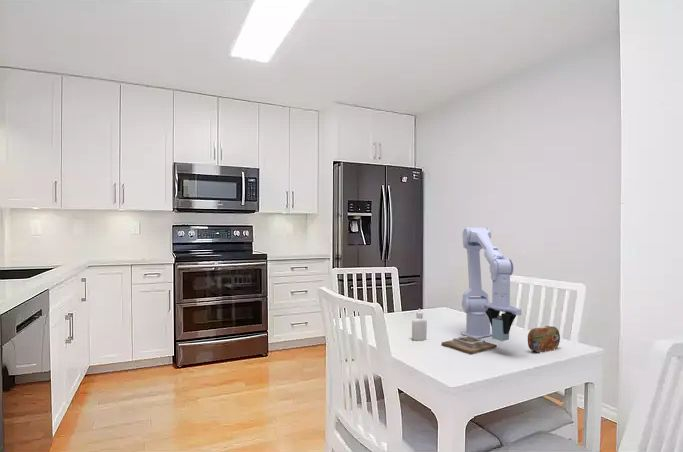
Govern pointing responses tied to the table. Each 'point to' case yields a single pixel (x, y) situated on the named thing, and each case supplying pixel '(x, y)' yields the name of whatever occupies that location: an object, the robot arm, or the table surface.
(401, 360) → the table surface
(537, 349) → the tin
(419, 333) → the eye dropper bottle
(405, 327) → the table surface
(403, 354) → the table surface
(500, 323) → the peg
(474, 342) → the dock
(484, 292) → the robot arm
